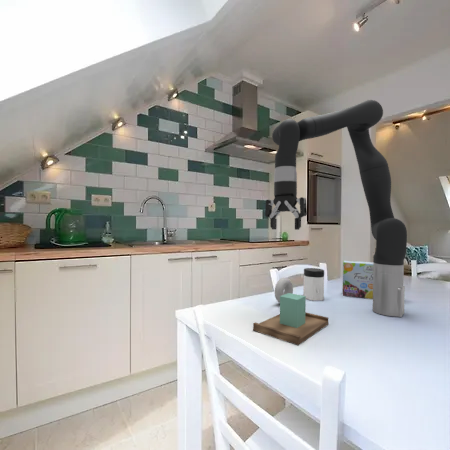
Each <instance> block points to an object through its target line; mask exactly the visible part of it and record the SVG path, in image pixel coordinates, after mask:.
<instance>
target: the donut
mask: <svg viewBox="0 0 450 450" xmlns="http://www.w3.org/2000/svg"><path fill="white" fill-rule="evenodd" d="M287 293H292V294H294V287H293V283H292V282H291V279H290V278H287V277H281V278H279V280H278V281H277V282H276V284H275V287H274V297H275V300H276V302H278V304H280V296H282V295H285V294H287Z"/></svg>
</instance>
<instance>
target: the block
mask: <svg viewBox="0 0 450 450" xmlns="http://www.w3.org/2000/svg"><path fill="white" fill-rule="evenodd" d="M306 300H307V299H306V296H303V295H301V294H297V293H296V294H295V293H293V294H292V293H287V294H285V295H282V296H280V303H279V314H280V324H284V325H287V326H291V327H295V328H298V327H300V326H301V325H303V324H305V312H307V310H306V307H307V306H306V305H307V304H306V303H307V302H306Z"/></svg>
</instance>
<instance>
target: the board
mask: <svg viewBox="0 0 450 450" xmlns="http://www.w3.org/2000/svg"><path fill="white" fill-rule="evenodd" d="M252 325H253V326H252V331H254V332H257V333H261V334H263V335H267V336H270V337H272V338H276V339H279V340H281V341H284V342H285V341H286V342H287V343H291V344H293V345H297V346H299V345H301V344H302V343H304V342H305V341H306V340H308V339H309V338H311V337H312V336H314V335H315V334H317V333H319V332H320V331H321V330H322V329H324V328H325V327H326V326H328V325H329V317H327V316H323V315H318V314H315V313H310V312H307V311H305V324H303V325H301V326H300V327H298V328H295V327H291V326H287V325H284V324H280V313H279V314H276V315H274V316H273V317H270V318H268V319H266V320H264V321H261V322H259V323H258V322H254V323H253V324H252Z"/></svg>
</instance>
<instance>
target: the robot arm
mask: <svg viewBox="0 0 450 450" xmlns="http://www.w3.org/2000/svg"><path fill="white" fill-rule="evenodd" d="M383 115H384V109H383V106H382V104H381V103H380V102H378V101H377V100H373V99H367V100H363V101H361V102H360V103H357V104H354V105H351V106H348V107H346V108H342V109H340V110H336V111H332V112H328V113H323V114H319V115H313V116H308V117H304V118H302V119H301V120H298V121H296V120H295V119H293V118H287V119H284V120H283V121H282V122H280V123H279V124H278V125H277V126H276V127H275V128H274V129H273V132H272V133H271V134H272V135H271V138H272V141H273V142H274V144H275V145H277V146H278V149H277V151H276V152H275V155H274V157H275V158H274V173H273V196H274V198H273V199H266V200H265V209H264V210H265V213H264V214H265V217H266V218H269V219H270V220H269V221H270V222H269V223H270V228H271V230H277V217H278V215H280V213H282V212H291V213H292V215H293V217H295V218H294V230H297V231H298V230H300V229H301V228H302V218H303V217H307V215H308V210H307V197H303V196H302V197H299V198H298V197H297V196H298V195H297V194H298V173H297V152H298V148H299V143H300V142H302V141H304V140H308V139H309V140H311V139H315V138H319V137H323V136H327V135H329V134H332V133H334V132H337V131H338V130H339V131H340V130H342V129H344V128H346V129H347V131H348V135H349V137H350V140H351V143H352V146H353V150H354V153H355V158H356V161H357V166H358V171H359V176H360V181H361V184H362V188H363V192H364V196H365V200H366V202H367V205H368V211H369V219H370V230H371V235H372V236H373V238H374V240H375V252H374V255H373V257H372V258H373V259H372V262H373V299H372V311H373V312H374V313H376V314H379V315H383V316H387V317H397V318H398V317H399V318H402V317H403V315H404V314H405V302H406V301H405V296H406V295H405V291H406V290H405V289H406V288H405V287H406V286H405V285H404V281H405V280H404V277H405V275H404V273H405V272H404V271H405V269H404V268H405V266H404V265H405V258H406V255H407V249H408V247H407V246H408V245H407V243H408V230H407V226H406V225H405V223H404V222H403V221H402V220H400V219H398V218H395V215H394V212H393V209H392V208H393V207H392V204H391V195H392V177H391V172H390V167H389V163H388V161H387V158H385V156H384V155H383V154H382V153H381V152H380V151H379V150H378V149H377V148H376V147H375V146H374V144H373V143H372V139H371V136H370V130H369V129H370V128H372V127H374V126H376V125H377V124H378V123H379V122H380V121H381V119H382V117H383ZM297 204H298V205H299V209H298V207H297V206H296V205H297ZM273 206H274V207H273Z"/></svg>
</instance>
